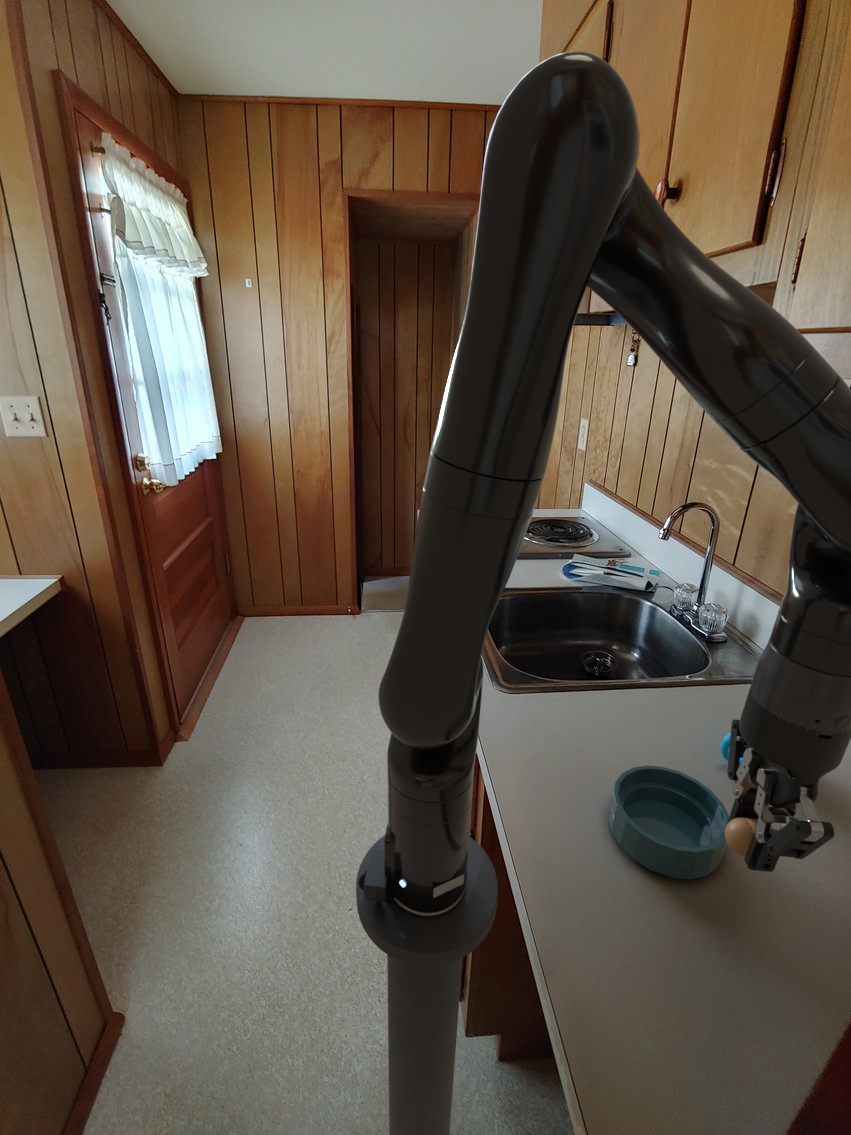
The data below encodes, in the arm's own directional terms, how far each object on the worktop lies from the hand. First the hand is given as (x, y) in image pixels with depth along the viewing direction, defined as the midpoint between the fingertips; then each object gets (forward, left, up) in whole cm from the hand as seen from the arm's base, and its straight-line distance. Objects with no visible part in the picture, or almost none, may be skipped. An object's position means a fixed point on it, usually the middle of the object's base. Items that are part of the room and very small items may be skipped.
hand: (748, 848), depth 52 cm
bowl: (-2, +13, -13) cm, 19 cm away
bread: (0, 0, 0) cm, 0 cm away
